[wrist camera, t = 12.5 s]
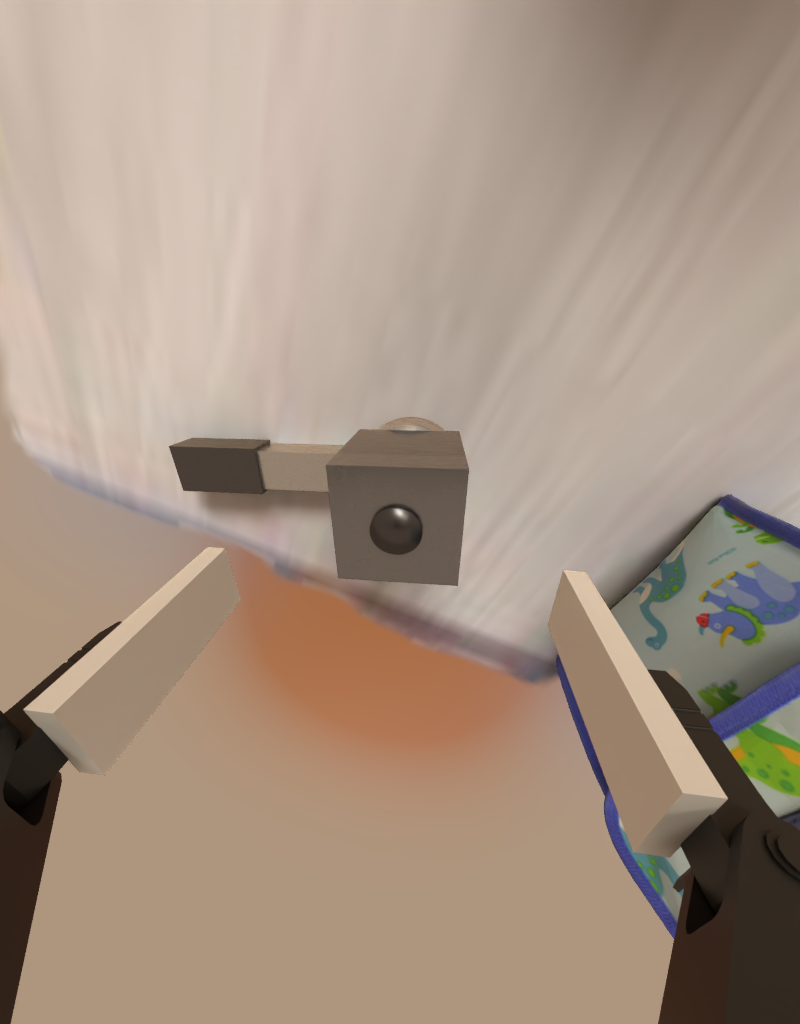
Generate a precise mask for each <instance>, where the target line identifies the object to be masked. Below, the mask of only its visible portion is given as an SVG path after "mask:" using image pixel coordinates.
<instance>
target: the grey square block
mask: <svg viewBox="0 0 800 1024" xmlns="http://www.w3.org/2000/svg"><path fill="white" fill-rule="evenodd" d="M326 473H327V482H328V491H329V500H330V509H331V518H332V527H333V536H334V545H335V554H336V563H337V572H338V578H343V579H359V580H374V581H390V582H406V583H421V584H437V585H453V586H458V577H459V567H460V556H461V546H462V536H463V525H464V515H465V505H466V494H467V484H468V474H469V468H468V464H467V460H466V456H465V452H464V449H463V445H462V441H461V437H460V433H459V431H415V430H365V429H360V430H359V431H358V432H357V433H356V434H355V435H354V436H353V437H352V438H351V439H350V440H349V441H348V442H347V443H346V444H345V445H344V446H343V447H342V449H341V450H340V451H339V452H338V453H337V454H336V455H335V456H334V457H333V458H332V459H331V460H330V461H329V462H328V463H327V464H326Z"/></svg>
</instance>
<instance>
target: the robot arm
mask: <svg viewBox="0 0 800 1024" xmlns="http://www.w3.org/2000/svg"><path fill="white" fill-rule="evenodd" d="M240 601H241V598H240V595H239V591H238V588H237V585H236V582H235V578H234V575H233V572H232V569H231V565H230V562H229V558H228V555H227V552H226V549H225V548H214V547H207V548H206V549H205V550H204V551H203V552H202V553H201V554H199V555H198V556H197V557H196V558H195V559H194V560H193V561H191V562H190V563H189V564H188V565H187V566H186V567H185V568H183V570H181V571H180V572H179V573H178V574H177V575H176V576H174V577H173V578H172V579H171V580H170V581H169V582H168V583H166V584H165V585H164V586H163V587H162V588H161V589H160V590H158V591H157V592H156V593H155V594H154V595H153V596H152V597H150V599H148V600H147V601H146V602H145V603H144V604H143V605H141V606H140V607H139V608H138V609H137V610H136V611H135V612H133V613H132V614H131V615H130V616H129V617H128V618H127V619H125V620H124V621H123V622H117V623H115V624H114V625H112V626H110V627H109V628H107V629H105V630H104V631H102V632H100V633H99V634H97V635H96V636H95V637H94V638H93V639H91V640H90V641H89V642H88V643H87V644H86V645H84V646H83V647H82V650H81V651H77V652H76V653H75V654H74V655H73V656H72V657H70V658H69V659H68V662H67V663H63V664H62V665H61V666H60V667H59V668H58V669H56V670H55V671H54V672H53V673H52V674H50V675H49V676H48V677H47V678H46V679H45V680H43V681H42V682H41V683H40V684H39V685H38V686H36V687H35V688H34V689H33V690H32V691H30V692H29V693H28V694H27V695H26V696H25V697H23V698H22V699H21V700H20V701H19V702H18V703H16V704H15V705H14V706H13V707H12V708H10V709H9V710H8V711H7V712H5V713H4V714H3V713H2V712H1V711H0V1024H10V1023H11V1019H12V1014H13V1009H14V1005H15V1000H16V995H17V990H18V986H19V981H20V976H21V972H22V966H23V962H24V957H25V953H26V948H27V943H28V938H29V934H30V929H31V924H32V920H33V914H34V910H35V905H36V900H37V895H38V891H39V886H40V882H41V877H42V872H43V868H44V862H45V858H46V853H47V849H48V843H49V839H50V834H51V830H52V825H53V820H54V815H55V811H56V806H57V801H58V797H59V792H60V787H61V782H62V779H61V773H60V772H59V770H60V769H61V768H62V767H63V765H64V764H65V763H66V762H67V761H68V760H69V761H70V762H71V764H72V765H73V766H74V767H75V768H76V769H77V770H78V771H79V772H84V773H91V774H97V775H106V774H107V772H108V771H109V770H110V768H111V767H112V766H113V764H114V763H115V762H116V761H117V759H118V758H119V757H120V755H121V754H122V753H123V752H124V750H125V749H126V748H127V746H128V745H129V743H131V741H132V740H133V739H134V737H135V736H136V735H137V733H138V732H139V731H140V729H141V728H142V727H143V726H144V724H145V723H146V722H147V721H148V719H149V718H150V717H151V715H152V714H153V713H154V712H155V710H156V709H157V708H158V706H159V705H160V704H161V703H162V701H163V700H164V699H165V697H166V696H167V695H168V694H169V692H170V691H171V690H172V688H173V687H174V686H175V684H176V683H177V682H178V681H179V679H180V678H181V677H182V675H183V674H184V672H186V670H187V669H188V668H189V666H190V665H191V664H192V662H193V661H194V660H195V659H196V657H197V656H198V655H199V653H200V652H201V651H202V650H203V648H204V647H205V646H206V644H207V643H208V642H209V641H210V639H211V638H212V637H213V635H214V634H215V633H216V632H217V630H218V629H219V628H220V626H221V625H222V624H223V622H224V621H225V620H226V619H227V617H228V616H229V615H230V613H231V612H232V611H233V610H234V608H235V607H236V606H237V604H238V603H239V602H240ZM548 627H549V630H550V633H551V635H552V638H553V641H554V643H555V646H556V649H557V651H558V654H559V657H560V659H561V662H562V664H563V667H564V670H565V672H566V675H567V678H568V680H569V683H570V686H571V688H572V691H573V694H574V696H575V699H576V702H577V704H578V707H579V710H580V712H581V715H582V718H583V720H584V723H585V726H586V728H587V731H588V734H589V736H590V739H591V742H592V744H593V747H594V750H595V752H596V755H597V757H598V760H599V763H600V765H601V768H602V771H603V773H604V776H605V779H606V781H607V784H608V787H609V789H610V792H611V795H612V797H613V800H614V803H615V805H616V808H617V811H618V813H619V816H620V819H621V821H622V824H623V827H624V829H625V832H626V835H627V837H628V840H629V843H630V845H631V848H632V851H633V852H635V853H641V854H648V855H655V856H662V857H669V858H670V857H671V856H672V855H673V854H674V853H675V852H676V851H677V850H678V849H679V848H680V847H681V848H682V850H683V852H684V854H685V856H686V858H687V860H688V862H689V865H690V868H689V869H688V870H687V871H686V872H684V873H683V874H682V875H681V876H680V877H679V878H678V879H677V880H676V882H675V884H674V886H673V888H674V889H675V890H676V891H677V892H678V893H679V892H680V891H682V890H683V889H684V891H683V896H682V901H681V907H680V912H679V917H678V922H677V928H676V933H675V938H674V943H673V949H672V954H671V959H670V965H669V969H668V975H667V980H666V985H665V991H664V996H663V1001H662V1006H661V1011H660V1017H659V1022H658V1024H800V830H799V829H797V828H796V827H795V826H793V825H791V824H789V823H788V822H786V821H784V820H782V819H780V818H778V817H777V816H776V814H775V813H774V812H773V811H772V809H771V808H770V807H769V806H768V804H767V803H766V802H765V800H764V799H763V798H762V796H761V795H760V793H759V792H758V791H757V789H756V788H755V786H754V785H753V783H752V782H751V781H750V779H749V778H748V776H747V775H746V774H745V772H744V771H743V769H742V768H741V766H740V765H739V764H738V762H737V761H736V759H735V758H734V756H733V755H732V754H731V752H730V751H729V749H728V748H727V747H726V745H725V744H724V742H723V741H722V739H721V738H720V737H719V735H718V734H717V732H714V731H713V727H712V725H711V724H710V722H709V721H708V720H707V718H706V717H705V715H704V714H701V710H700V708H699V707H698V705H697V704H696V703H695V701H694V700H693V698H692V697H691V696H690V694H689V693H688V691H687V690H686V689H685V688H684V687H683V686H682V685H681V684H680V683H679V682H677V681H676V680H675V679H674V678H673V677H672V676H671V675H670V674H669V673H667V672H666V671H661V670H650V669H646V667H645V666H644V664H643V662H642V661H641V659H640V658H639V656H638V654H637V653H636V651H635V650H634V648H633V647H632V645H631V643H630V642H629V640H628V639H627V637H626V635H625V634H624V632H623V631H622V629H621V627H620V626H619V624H618V623H617V621H616V619H615V618H614V616H613V615H612V613H611V611H610V610H609V608H608V607H607V605H606V604H605V602H604V600H603V599H602V597H601V596H600V594H599V592H598V591H597V589H596V588H595V586H594V584H593V583H592V581H591V580H590V578H589V576H588V575H587V573H586V572H583V571H567V570H563V573H562V577H561V580H560V584H559V587H558V591H557V594H556V598H555V601H554V605H553V608H552V611H551V615H550V618H549V622H548Z"/></svg>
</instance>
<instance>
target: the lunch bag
mask: <svg viewBox="0 0 800 1024" xmlns="http://www.w3.org/2000/svg"><path fill="white" fill-rule="evenodd" d="M610 611H611V613H612V615H613V616H614V618H615V619H616V621H617V623H618V624H619V626H620V627H621V629H622V631H623V632H624V634H625V635H626V637H627V639H628V640H629V642H630V643H631V645H632V647H633V648H634V650H635V651H636V653H637V654H638V656H639V658H640V659H641V661H642V662H643V664H644V666H645V667H646V669H650V670H661V671H666V672H667V673H669V674H670V675H671V676H672V677H673V678H674V679H675V680H676V681H677V682H679V683H680V684H681V685H682V686H683V687H684V688H685V689H686V690H687V691H688V693H689V694H690V696H691V697H692V698H693V700H694V701H695V703H696V704H697V705H698V707H699V708H700V710H701V714H704V715H705V717H706V718H707V720H708V721H709V722H710V724H711V725H712V727H713V731H714V732H717V734H718V735H719V737H720V738H721V739H722V741H723V742H724V744H725V745H726V747H727V748H728V749H729V751H730V752H731V754H732V755H733V756H734V758H735V759H736V761H737V762H738V764H739V765H740V766H741V768H742V769H743V771H744V772H745V774H746V775H747V776H748V778H749V779H750V781H751V782H752V783H753V785H754V786H755V788H756V789H757V791H758V792H759V793H760V795H761V796H762V798H763V799H764V800H765V802H766V803H767V804H768V806H769V807H770V808H771V809H772V811H773V812H774V813H775V814H776V816H777V817H778V818H780V819H782V820H784V821H786V822H788V823H789V824H791V825H793V826H795V827H796V828H797V829H799V830H800V529H799V528H797V527H795V526H793V525H791V524H789V523H787V522H784V521H782V520H780V519H777V518H775V517H773V516H770V515H768V514H766V513H763V512H761V511H759V510H756V509H754V508H752V507H750V506H748V505H747V504H745V503H744V502H743V501H741V500H739V499H737V498H735V497H734V496H732V495H726V496H725V497H723V498H722V499H721V500H720V502H719V503H718V504H717V505H716V506H714V507H713V508H712V509H711V510H710V511H709V512H708V513H707V514H706V515H705V516H704V518H703V519H702V520H701V521H700V522H699V523H698V524H697V525H696V526H695V528H694V529H693V530H692V531H691V532H690V533H689V534H688V535H687V536H686V538H685V539H684V540H683V541H682V542H681V543H680V544H679V545H678V546H677V547H676V548H675V549H674V550H673V551H672V552H671V554H670V555H668V556H667V557H666V558H665V559H664V560H663V561H662V562H661V563H660V564H659V566H658V567H657V568H656V569H655V570H654V571H652V572H651V573H650V574H649V575H648V576H647V577H646V578H645V579H644V580H643V581H642V582H640V583H639V584H638V585H637V586H636V587H635V588H634V589H633V590H632V591H631V592H630V593H629V594H628V595H627V596H625V597H624V598H623V599H622V600H621V601H620V602H619V603H618V604H617V605H615V606H614V607H613V608H612V609H611V610H610ZM556 667H557V669H558V675H559V677H560V680H561V683H562V687H563V690H564V693H565V696H566V699H567V702H568V705H569V708H570V711H571V714H572V717H573V720H574V722H575V725H576V727H577V730H578V733H579V735H580V738H581V741H582V743H583V746H584V749H585V751H586V754H587V757H588V759H589V761H590V764H591V766H592V769H593V771H594V774H595V776H596V778H597V780H598V782H599V784H600V786H601V789H602V791H603V793H604V795H605V801H604V815H605V821H606V825H607V828H608V831H609V834H610V837H611V839H612V842H613V844H614V847H615V849H616V851H617V852H618V854H619V856H620V858H621V860H622V861H623V863H624V865H625V866H626V868H627V870H628V871H629V873H630V874H631V876H632V878H633V879H634V881H635V883H636V884H637V885H638V887H639V888H640V890H641V891H642V893H643V894H644V896H645V897H646V899H647V900H648V901H649V903H650V904H651V906H652V907H653V909H654V910H655V912H656V913H657V915H658V916H659V918H660V919H661V920H662V922H663V923H664V925H665V927H666V928H667V930H668V931H669V933H670V934H671V935H672V937H673V938H675V933H676V928H677V922H678V917H679V912H680V907H681V901H682V896H683V891H684V889H683V890H682V891H680V892H679V893H678V892H677V891H676V890H675V889H674V888H673V886H674V884H675V882H676V880H677V879H678V878H679V877H680V876H681V875H682V874H683V873H684V872H686V871H687V870H688V869H689V868H690V865H689V862H688V860H687V858H686V856H685V854H684V852H683V850H682V848H681V847H680V848H679V849H678V850H677V851H676V852H675V853H674V854H673V855H672V856H671V857H670V858H669V857H662V856H655V855H648V854H641V853H635V852H633V851H632V848H631V845H630V843H629V840H628V837H627V835H626V832H625V829H624V827H623V824H622V821H621V819H620V816H619V813H618V811H617V808H616V805H615V803H614V800H613V797H612V795H611V792H610V789H609V787H608V784H607V781H606V779H605V776H604V773H603V771H602V768H601V765H600V763H599V760H598V757H597V755H596V752H595V750H594V747H593V744H592V742H591V739H590V736H589V734H588V731H587V728H586V726H585V723H584V720H583V718H582V715H581V712H580V710H579V707H578V704H577V702H576V699H575V696H574V694H573V691H572V688H571V686H570V683H569V680H568V678H567V675H566V672H565V670H564V667H563V664H562V662H561V659H560V657H559V654H558V655H557V659H556Z"/></svg>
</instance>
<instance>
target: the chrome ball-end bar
mask: <svg viewBox="0 0 800 1024" xmlns="http://www.w3.org/2000/svg"><path fill="white" fill-rule="evenodd" d="M379 430H415V431H444V430H443V429H442V428H441V427H439V426H438V425H436V424H435V423H433V422H431V421H428V420H425V419H421V418H414V417H407V418H400V419H396V420H393V421H391V422H389V423H387V424H385V425H384V426H382V427H381V428H380V429H379ZM342 447H343V446H341V445H305V444H270V440H250V439H213V438H191V439H188V440H185V441H182V442H179V443H177V444H174V445H171V446H169V448H170V451H171V454H172V457H173V460H174V463H175V466H176V469H177V472H178V475H179V478H180V481H181V484H182V487H183V491H205V492H228V493H251V494H263V493H265V492H266V491H267V490H268V489H271V490H295V491H319V492H329V491H328V482H327V473H326V464H327V463H328V462H329V461H330V460H331V459H332V458H333V457H334V456H335V455H336V454H337V453H338V452H339V451H340V450H341V449H342Z"/></svg>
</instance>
